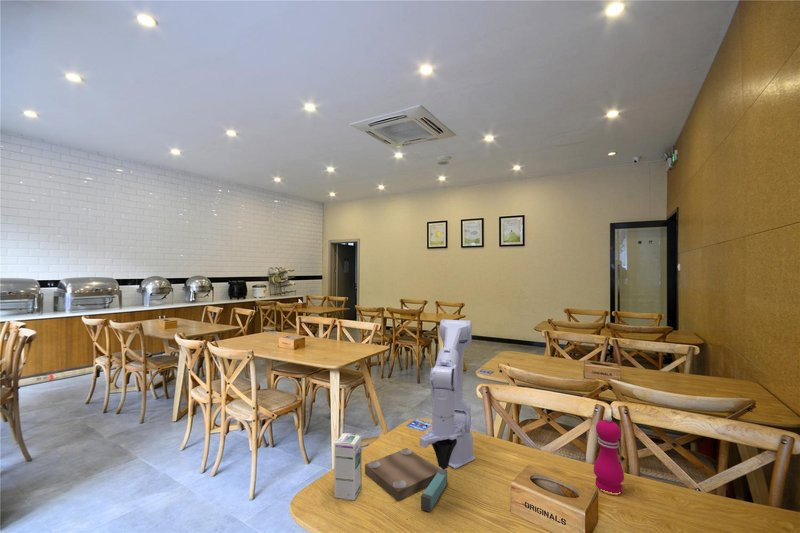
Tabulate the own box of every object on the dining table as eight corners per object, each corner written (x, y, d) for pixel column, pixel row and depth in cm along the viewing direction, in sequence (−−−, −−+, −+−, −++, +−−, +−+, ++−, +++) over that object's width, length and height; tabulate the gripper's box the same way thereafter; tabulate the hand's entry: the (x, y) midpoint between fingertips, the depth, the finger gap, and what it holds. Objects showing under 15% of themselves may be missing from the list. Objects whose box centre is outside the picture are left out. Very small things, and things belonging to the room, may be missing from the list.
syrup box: (354, 501, 89) (355, 444, 89) (333, 498, 90) (334, 441, 90) (361, 487, 94) (362, 434, 95) (341, 485, 95) (342, 432, 96)
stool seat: (406, 455, 111) (406, 447, 111) (442, 479, 99) (442, 469, 99) (364, 473, 101) (364, 463, 101) (398, 501, 89) (398, 490, 89)
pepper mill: (626, 488, 95) (626, 415, 96) (621, 500, 90) (620, 423, 90) (597, 477, 100) (597, 408, 101) (590, 488, 95) (590, 415, 95)
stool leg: (439, 479, 98) (439, 467, 98) (448, 481, 97) (448, 470, 97) (420, 508, 86) (420, 495, 86) (430, 512, 84) (430, 498, 84)
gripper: (433, 426, 81) (433, 484, 81) (474, 411, 90) (473, 464, 90) (414, 416, 86) (413, 471, 86) (453, 403, 95) (453, 453, 95)
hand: (443, 466), depth 88 cm, fingers closed
